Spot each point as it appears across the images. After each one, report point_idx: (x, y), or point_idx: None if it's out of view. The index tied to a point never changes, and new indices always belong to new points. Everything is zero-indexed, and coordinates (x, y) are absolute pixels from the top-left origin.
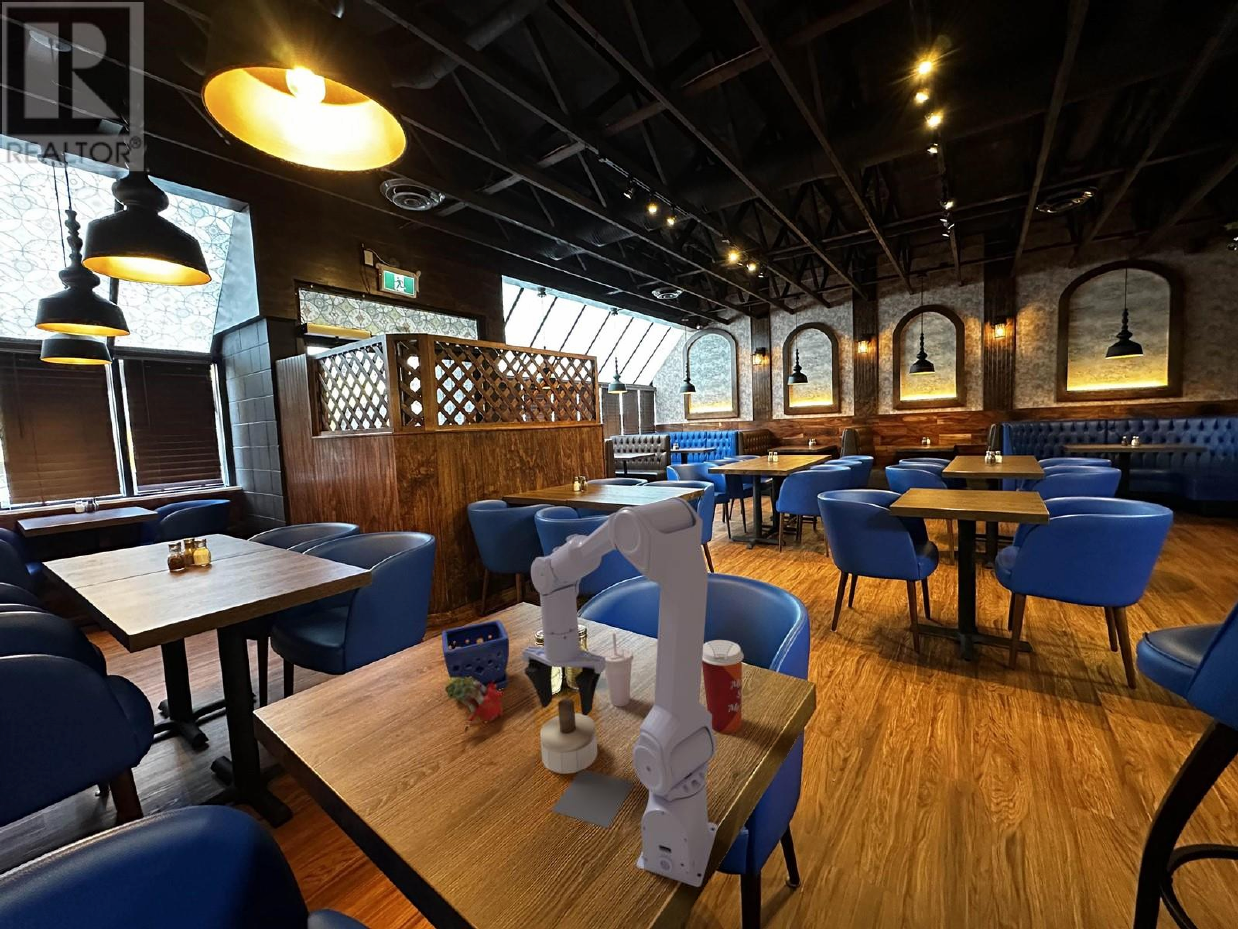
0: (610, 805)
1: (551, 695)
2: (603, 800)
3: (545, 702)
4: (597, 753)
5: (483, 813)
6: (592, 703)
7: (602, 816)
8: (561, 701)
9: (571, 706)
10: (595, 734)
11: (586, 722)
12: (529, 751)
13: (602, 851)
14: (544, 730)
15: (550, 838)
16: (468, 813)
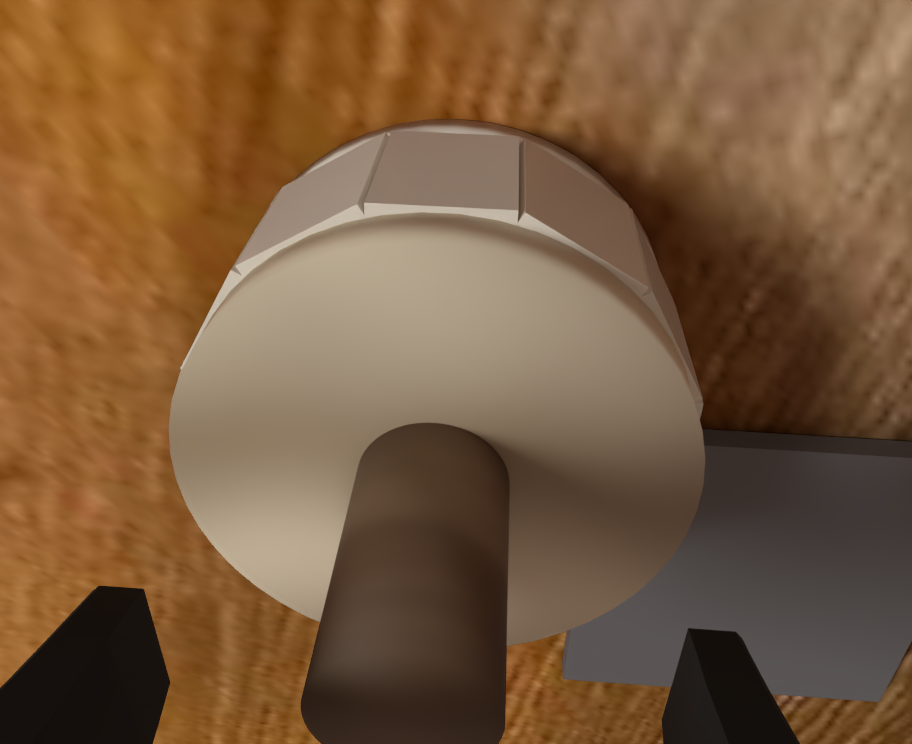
0: (867, 613)
1: (111, 655)
2: (820, 597)
3: (146, 730)
4: (675, 306)
5: (257, 697)
6: (767, 690)
7: (835, 664)
8: (323, 702)
9: (499, 737)
10: (692, 394)
11: (573, 368)
12: (121, 333)
13: (857, 738)
14: (238, 534)
15: (615, 731)
16: (196, 706)
